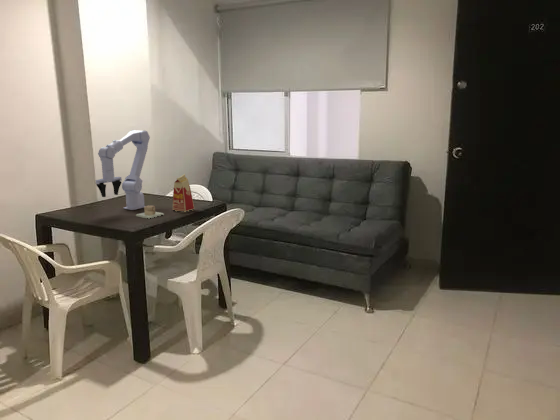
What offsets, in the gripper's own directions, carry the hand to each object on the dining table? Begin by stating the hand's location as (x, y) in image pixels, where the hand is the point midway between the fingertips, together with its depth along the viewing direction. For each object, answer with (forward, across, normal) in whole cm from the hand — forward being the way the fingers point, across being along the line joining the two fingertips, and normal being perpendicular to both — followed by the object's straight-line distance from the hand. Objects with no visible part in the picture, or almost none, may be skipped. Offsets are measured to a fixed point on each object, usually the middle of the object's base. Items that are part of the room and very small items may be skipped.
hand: (110, 195), depth 247 cm
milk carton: (+10, -28, +25) cm, 39 cm away
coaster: (+10, -9, +20) cm, 24 cm away
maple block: (+9, -9, +20) cm, 24 cm away
